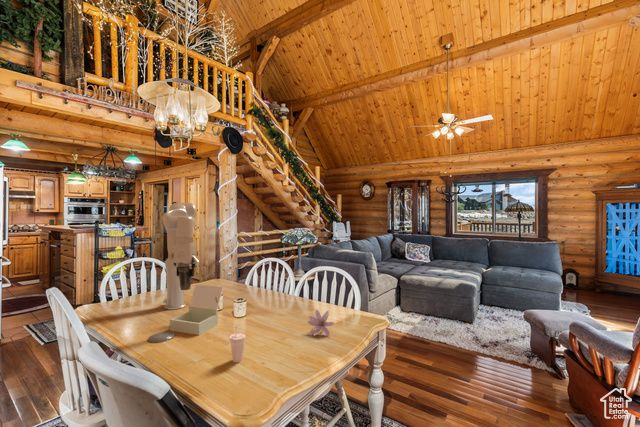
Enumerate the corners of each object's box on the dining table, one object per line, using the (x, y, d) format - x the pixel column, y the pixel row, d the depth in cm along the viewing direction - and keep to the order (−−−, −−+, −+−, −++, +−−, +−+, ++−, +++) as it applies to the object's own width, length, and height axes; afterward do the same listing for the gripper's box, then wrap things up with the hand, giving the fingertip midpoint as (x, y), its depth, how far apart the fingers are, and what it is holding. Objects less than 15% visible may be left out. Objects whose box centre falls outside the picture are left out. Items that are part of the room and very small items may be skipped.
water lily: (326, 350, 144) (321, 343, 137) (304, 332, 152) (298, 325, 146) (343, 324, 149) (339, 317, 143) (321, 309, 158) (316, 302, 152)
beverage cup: (196, 287, 153) (196, 248, 153) (186, 291, 146) (186, 250, 146) (184, 286, 155) (184, 248, 155) (174, 290, 148) (174, 250, 148)
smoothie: (231, 356, 123) (231, 322, 123) (247, 355, 124) (247, 322, 124) (227, 364, 117) (227, 328, 117) (244, 363, 117) (244, 328, 117)
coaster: (142, 340, 138) (142, 339, 138) (162, 331, 149) (162, 330, 149) (161, 344, 135) (161, 342, 135) (179, 334, 145) (179, 333, 145)
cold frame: (170, 330, 150) (169, 293, 150) (196, 317, 168) (196, 284, 168) (199, 335, 145) (198, 296, 145) (223, 321, 163) (223, 286, 162)
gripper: (165, 240, 149) (165, 276, 150) (194, 241, 144) (194, 278, 144) (176, 239, 157) (177, 273, 157) (204, 240, 151) (204, 275, 152)
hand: (185, 275), depth 151 cm, fingers closed on beverage cup, 6 cm apart
